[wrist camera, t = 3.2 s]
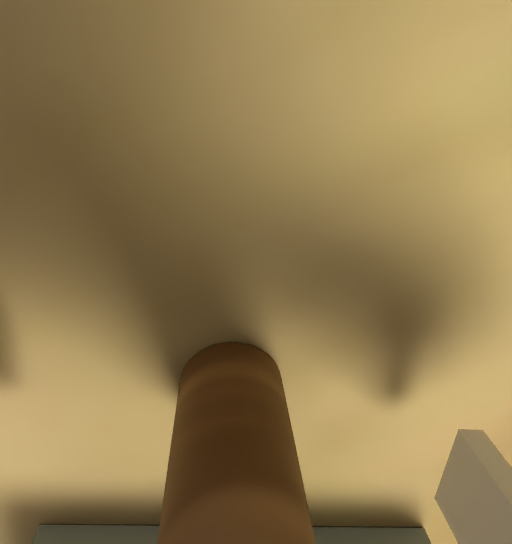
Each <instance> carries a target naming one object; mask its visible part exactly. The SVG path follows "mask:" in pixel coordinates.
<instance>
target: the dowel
mask: <svg viewBox="0 0 512 544" xmlns="http://www.w3.org/2000/svg"><path fill="white" fill-rule="evenodd" d="M157 544H316V543H315V538H314V533H313V528H312V524H311V519H310V514H309V509H308V504H307V500H306V495H305V490H304V485H303V480H302V475H301V471H300V466H299V461H298V456H297V451H296V446H295V442H294V437H293V432H292V427H291V422H290V418H289V413H288V408H287V403H286V398H285V393H284V389H283V384H282V379H281V375H280V371H279V369H278V367H277V365H276V363H275V362H274V361H273V359H272V358H271V357H270V356H269V355H268V354H267V353H265V352H264V351H262V350H261V349H259V348H257V347H254V346H252V345H249V344H244V343H238V342H227V343H220V344H216V345H213V346H210V347H207V348H205V349H203V350H202V351H200V352H199V353H197V354H196V355H195V356H194V357H192V358H191V360H190V361H189V362H188V363H187V365H186V366H185V368H184V370H183V372H182V375H181V378H180V385H179V392H178V399H177V406H176V413H175V420H174V427H173V434H172V441H171V448H170V456H169V463H168V470H167V477H166V484H165V491H164V498H163V505H162V512H161V519H160V526H159V533H158V540H157Z"/></svg>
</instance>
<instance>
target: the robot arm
mask: <svg viewBox="0 0 512 544" xmlns="http://www.w3.org/2000/svg"><path fill="white" fill-rule="evenodd" d="M435 499H436V501H437V503H438V505H439V507H440V509H441V511H442V513H443V515H444V517H445V519H446V520H447V522H448V524H449V526H450V528H451V530H452V532H453V534H454V536H455V538H456V540H457V541H458V543H459V544H512V467H511V466H510V465H509V463H508V462H507V461H506V460H505V458H504V457H503V456H502V454H501V453H500V452H499V450H498V449H497V448H496V447H495V445H494V444H493V443H492V441H491V440H490V439H489V437H488V436H487V435H486V434H485V432H484V431H483V430H465V429H458V432H457V435H456V438H455V441H454V444H453V447H452V449H451V452H450V455H449V458H448V461H447V464H446V466H445V469H444V472H443V475H442V478H441V481H440V484H439V486H438V489H437V492H436V495H435Z"/></svg>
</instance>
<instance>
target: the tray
mask: <svg viewBox="0 0 512 544" xmlns="http://www.w3.org/2000/svg"><path fill="white" fill-rule="evenodd" d="M312 528H313V533H314V538H315V543H316V544H431V542H430V540H429V538H428V535H427V533H426V531H425V529H424V528H375V527H312ZM158 533H159V526H144V525H39V528H38V530H37V532H36V535H35V537H34V540H33V542H32V544H157V540H158Z"/></svg>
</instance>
